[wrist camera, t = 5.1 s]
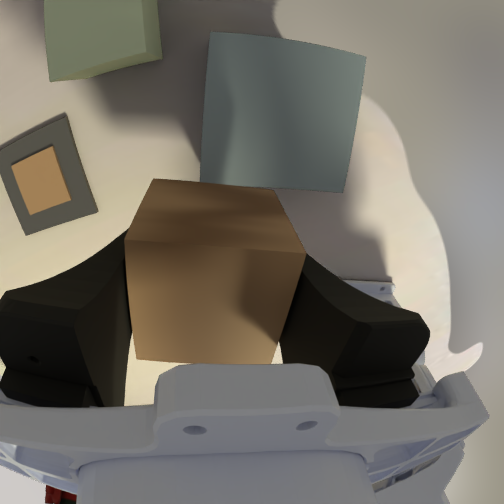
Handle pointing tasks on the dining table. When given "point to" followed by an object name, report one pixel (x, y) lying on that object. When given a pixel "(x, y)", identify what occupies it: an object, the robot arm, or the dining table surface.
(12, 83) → the dining table surface
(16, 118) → the dining table surface
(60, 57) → the sage cube
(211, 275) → the walnut cube
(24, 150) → the card
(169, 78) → the dining table surface
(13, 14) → the dining table surface
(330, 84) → the slate plinth
